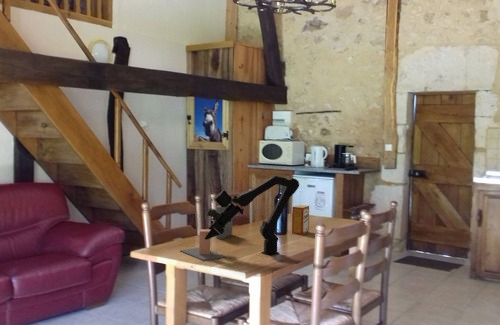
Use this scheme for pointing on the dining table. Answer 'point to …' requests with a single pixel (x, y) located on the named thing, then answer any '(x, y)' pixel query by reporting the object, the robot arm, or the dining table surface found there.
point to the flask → (227, 228)
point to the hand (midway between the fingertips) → (205, 237)
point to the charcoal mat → (204, 257)
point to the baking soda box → (300, 219)
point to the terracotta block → (204, 242)
